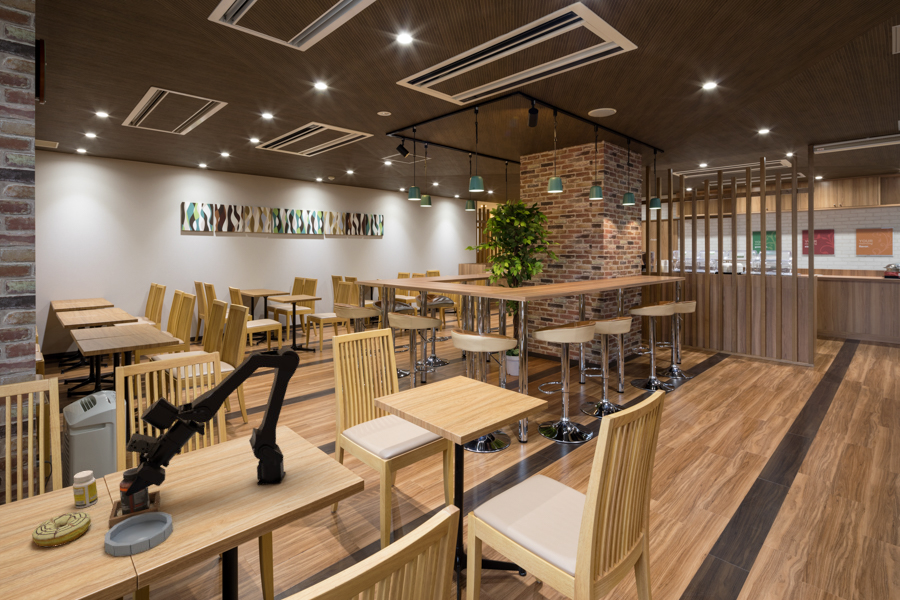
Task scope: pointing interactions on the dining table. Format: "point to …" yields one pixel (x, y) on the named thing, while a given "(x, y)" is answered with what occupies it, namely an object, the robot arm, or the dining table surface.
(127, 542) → the dish
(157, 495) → the tray
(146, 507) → the supplement bottle
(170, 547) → the dining table surface
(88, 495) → the supplement bottle
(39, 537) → the decorated donut
